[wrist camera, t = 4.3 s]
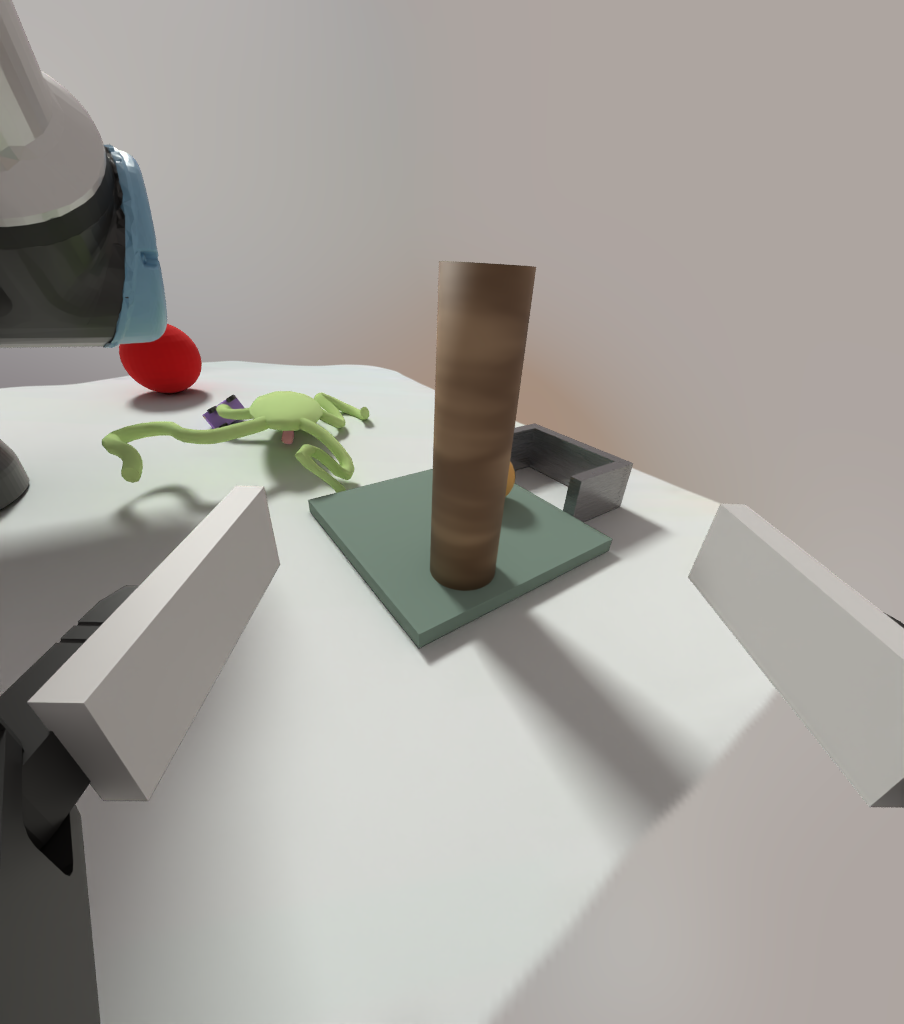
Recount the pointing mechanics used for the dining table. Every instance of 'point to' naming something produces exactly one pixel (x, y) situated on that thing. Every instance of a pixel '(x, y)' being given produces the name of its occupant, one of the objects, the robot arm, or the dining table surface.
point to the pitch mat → (407, 540)
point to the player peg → (475, 413)
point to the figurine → (254, 431)
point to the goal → (573, 469)
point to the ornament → (163, 362)
